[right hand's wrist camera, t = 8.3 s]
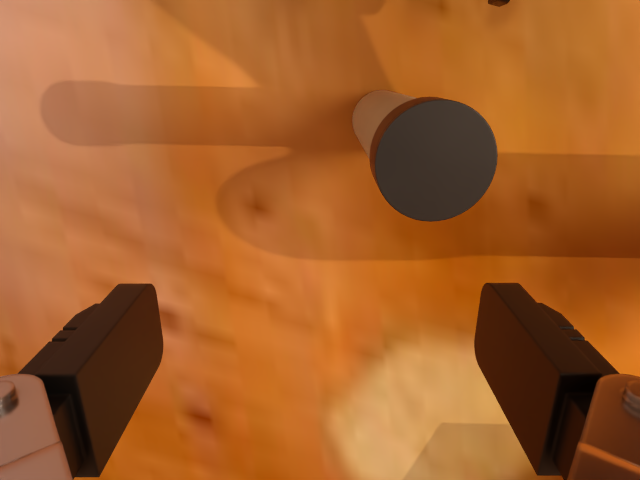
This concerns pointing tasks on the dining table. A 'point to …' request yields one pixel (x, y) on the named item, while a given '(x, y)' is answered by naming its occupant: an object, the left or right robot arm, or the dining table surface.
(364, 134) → the jar
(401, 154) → the lid
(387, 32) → the dining table surface
